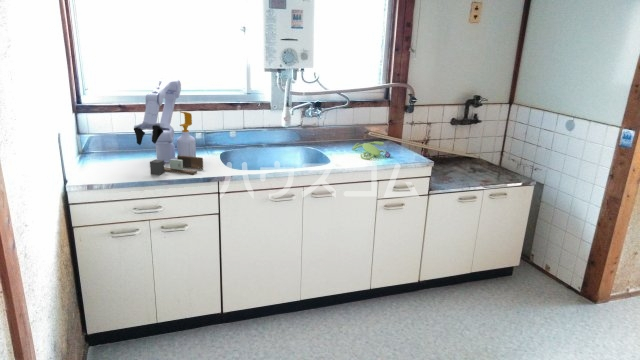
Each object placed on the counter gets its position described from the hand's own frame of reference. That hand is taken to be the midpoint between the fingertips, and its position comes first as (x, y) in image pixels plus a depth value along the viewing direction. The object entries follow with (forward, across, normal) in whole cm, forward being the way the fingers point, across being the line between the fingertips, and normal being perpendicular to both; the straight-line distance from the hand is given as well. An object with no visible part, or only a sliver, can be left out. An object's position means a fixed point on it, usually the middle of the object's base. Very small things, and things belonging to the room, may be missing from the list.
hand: (146, 143), depth 206 cm
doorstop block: (+11, +2, +10) cm, 15 cm away
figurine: (-21, +92, +75) cm, 120 cm away
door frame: (+6, +9, +17) cm, 21 cm away
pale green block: (+8, +8, +14) cm, 18 cm away
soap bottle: (-6, +2, +32) cm, 32 cm away
